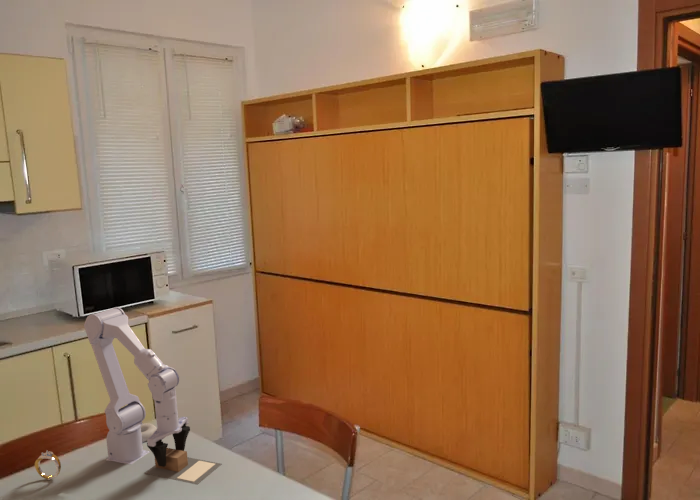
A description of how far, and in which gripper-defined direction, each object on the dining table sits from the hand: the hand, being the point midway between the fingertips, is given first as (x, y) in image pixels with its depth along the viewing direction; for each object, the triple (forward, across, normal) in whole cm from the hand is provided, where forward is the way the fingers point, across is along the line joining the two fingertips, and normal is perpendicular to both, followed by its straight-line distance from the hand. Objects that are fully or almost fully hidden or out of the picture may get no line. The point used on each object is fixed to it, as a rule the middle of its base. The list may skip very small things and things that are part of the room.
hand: (171, 458), depth 159 cm
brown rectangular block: (+2, 0, 0) cm, 2 cm away
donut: (+3, +12, +22) cm, 25 cm away
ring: (+3, -16, +29) cm, 33 cm away
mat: (+3, 0, -4) cm, 5 cm away
